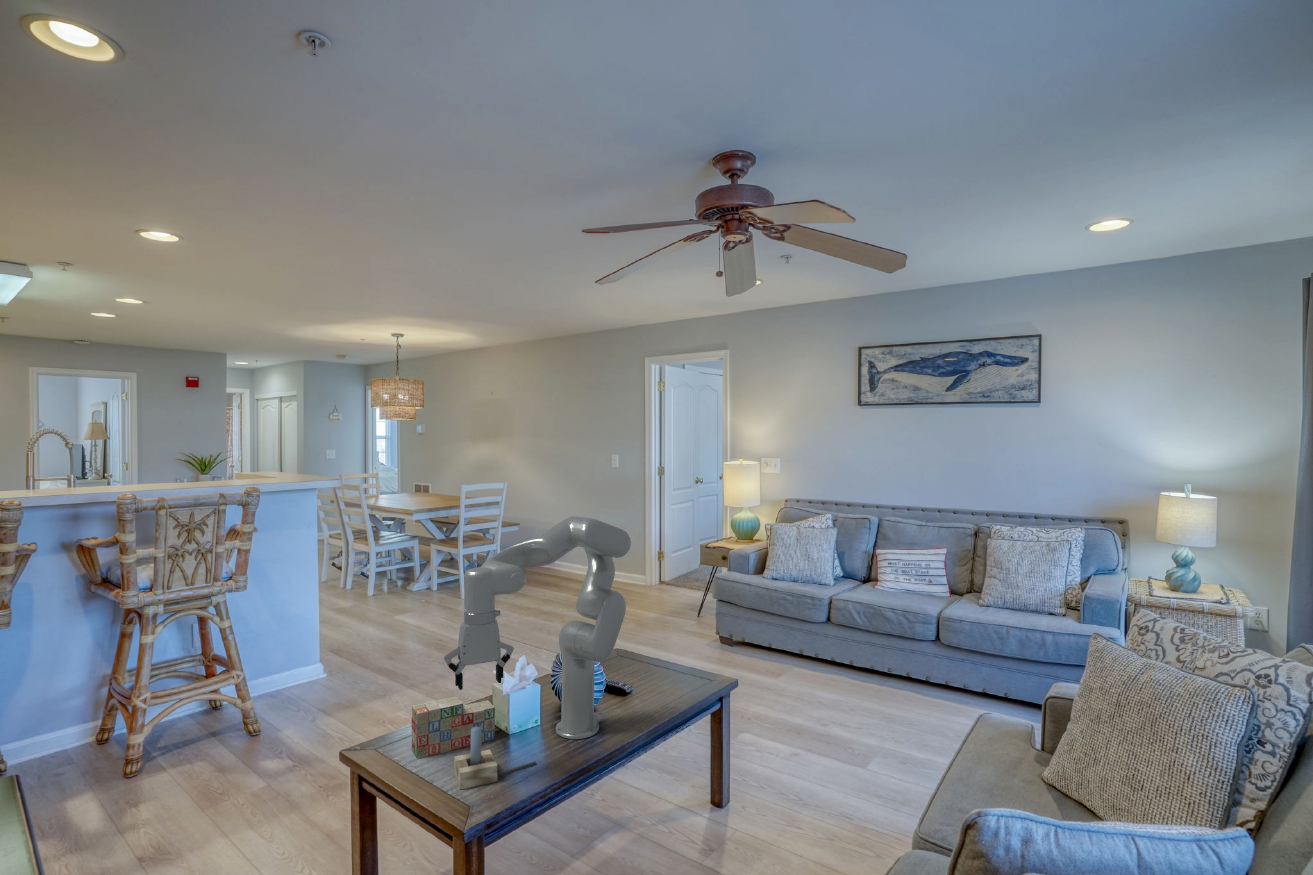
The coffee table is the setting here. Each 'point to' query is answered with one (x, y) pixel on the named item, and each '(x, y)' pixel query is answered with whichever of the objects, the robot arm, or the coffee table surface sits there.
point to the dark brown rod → (517, 768)
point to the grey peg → (475, 746)
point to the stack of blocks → (449, 725)
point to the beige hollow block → (475, 770)
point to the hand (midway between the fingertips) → (479, 684)
